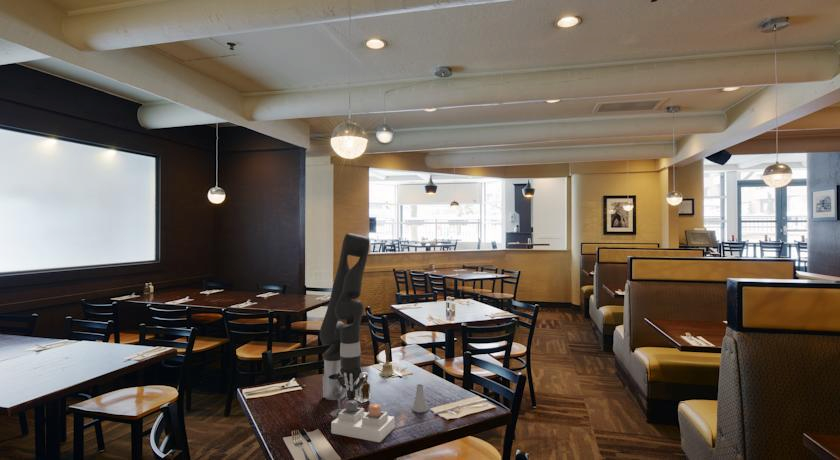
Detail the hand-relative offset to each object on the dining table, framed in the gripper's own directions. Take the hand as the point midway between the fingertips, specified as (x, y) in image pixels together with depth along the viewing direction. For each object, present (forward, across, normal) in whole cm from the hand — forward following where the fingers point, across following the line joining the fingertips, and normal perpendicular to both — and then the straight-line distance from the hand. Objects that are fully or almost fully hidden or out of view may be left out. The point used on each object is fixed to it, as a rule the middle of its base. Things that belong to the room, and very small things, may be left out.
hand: (351, 399), depth 161 cm
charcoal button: (+4, 0, 0) cm, 4 cm away
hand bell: (+11, -14, +58) cm, 61 cm away
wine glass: (+11, -12, +10) cm, 19 cm away
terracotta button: (+4, +10, 0) cm, 11 cm away
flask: (+11, +18, +24) cm, 32 cm away
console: (+11, +5, 0) cm, 12 cm away
